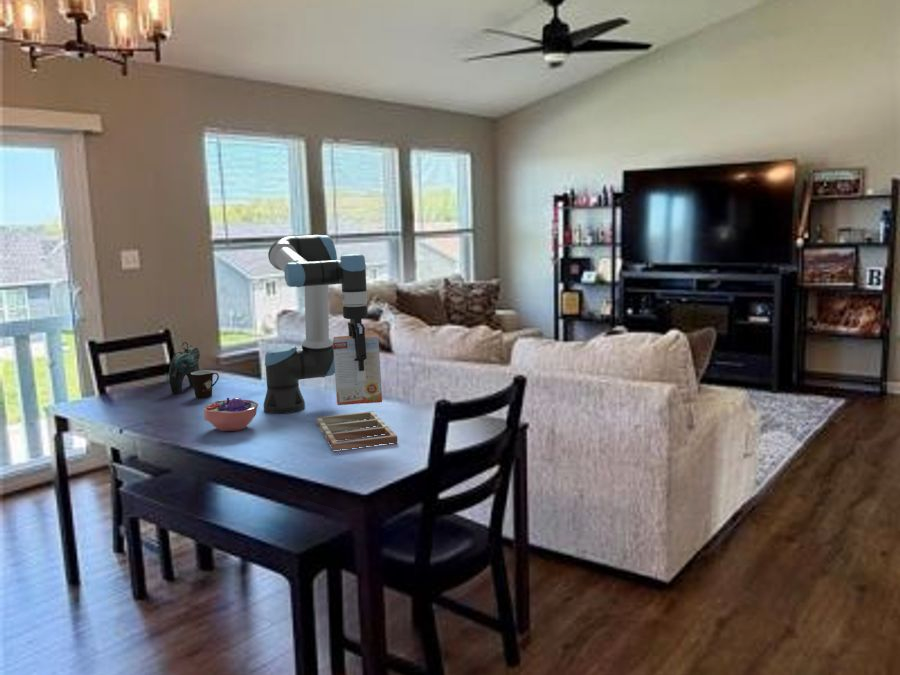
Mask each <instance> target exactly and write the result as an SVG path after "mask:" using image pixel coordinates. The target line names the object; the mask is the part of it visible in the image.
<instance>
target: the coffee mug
mask: <svg viewBox="0 0 900 675" xmlns="http://www.w3.org/2000/svg"><path fill="white" fill-rule="evenodd" d="M214 375H216V376H217V377H216V380H215V381H214V382H213V379H214V378H213V377H214ZM191 378H192V383H193V386H192V387H193V392H194V396H195V398H196V399H208V398H211V397H213V387H214V386H215V385H216V383H217V382H218V381H219V378H220V375H219V373H218V372H214V371H213V370H207V369H206V370H199V371H196V372H192V373H191Z"/></svg>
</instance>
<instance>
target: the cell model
mask: <svg viewBox="0 0 900 675" xmlns="http://www.w3.org/2000/svg"><path fill="white" fill-rule="evenodd" d="M258 407H259V403H258V402H256V401H254V400H251V399H242V398H241V397H233V398H232V399H230V397H226V400H220V399H219V400H216V401H215V402H210V403H207V404H206V405H205V406H204V407H203V408H202V409H203V417H204V421H206V422H208V423H209V424H211V426H213V427H214V428H216V429H217V430H220V431H223V432H228V431H233V432H238V431H241V430H243V429H244V428H246V427H247V426H248V425H250V424H251V422H252V421H253V419H254V418H255V417H256V416H257V412H258V411H257V410H258Z"/></svg>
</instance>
